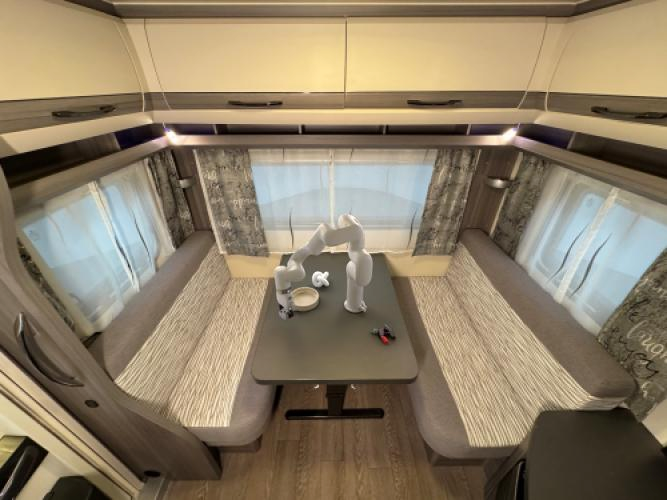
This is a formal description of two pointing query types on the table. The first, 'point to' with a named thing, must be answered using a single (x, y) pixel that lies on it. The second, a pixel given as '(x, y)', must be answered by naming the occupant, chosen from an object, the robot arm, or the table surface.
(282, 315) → the game controller
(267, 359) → the table surface
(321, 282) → the white knot sculpture
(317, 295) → the bowl
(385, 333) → the toy gun
